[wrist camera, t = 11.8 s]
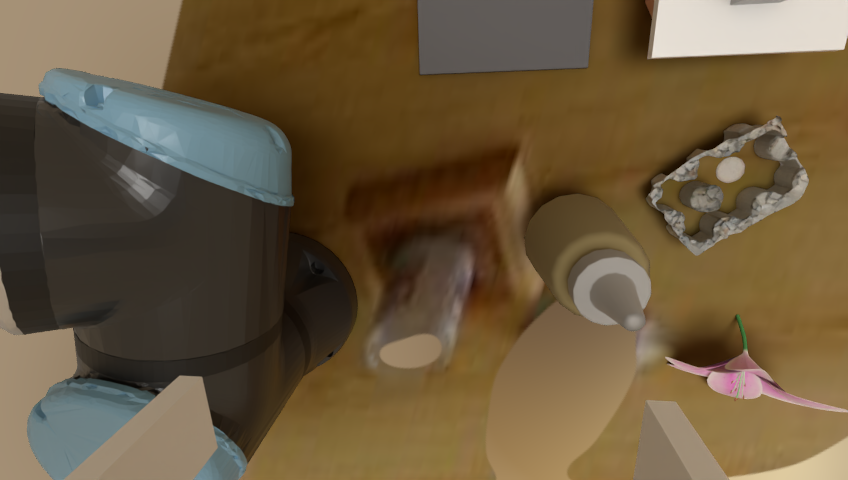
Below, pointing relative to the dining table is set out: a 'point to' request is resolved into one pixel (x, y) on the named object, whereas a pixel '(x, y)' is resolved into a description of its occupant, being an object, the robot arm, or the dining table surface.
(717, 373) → the lily
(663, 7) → the cover sheet
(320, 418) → the dining table surface
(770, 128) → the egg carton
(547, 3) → the rubber mat
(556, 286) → the squeeze bottle
